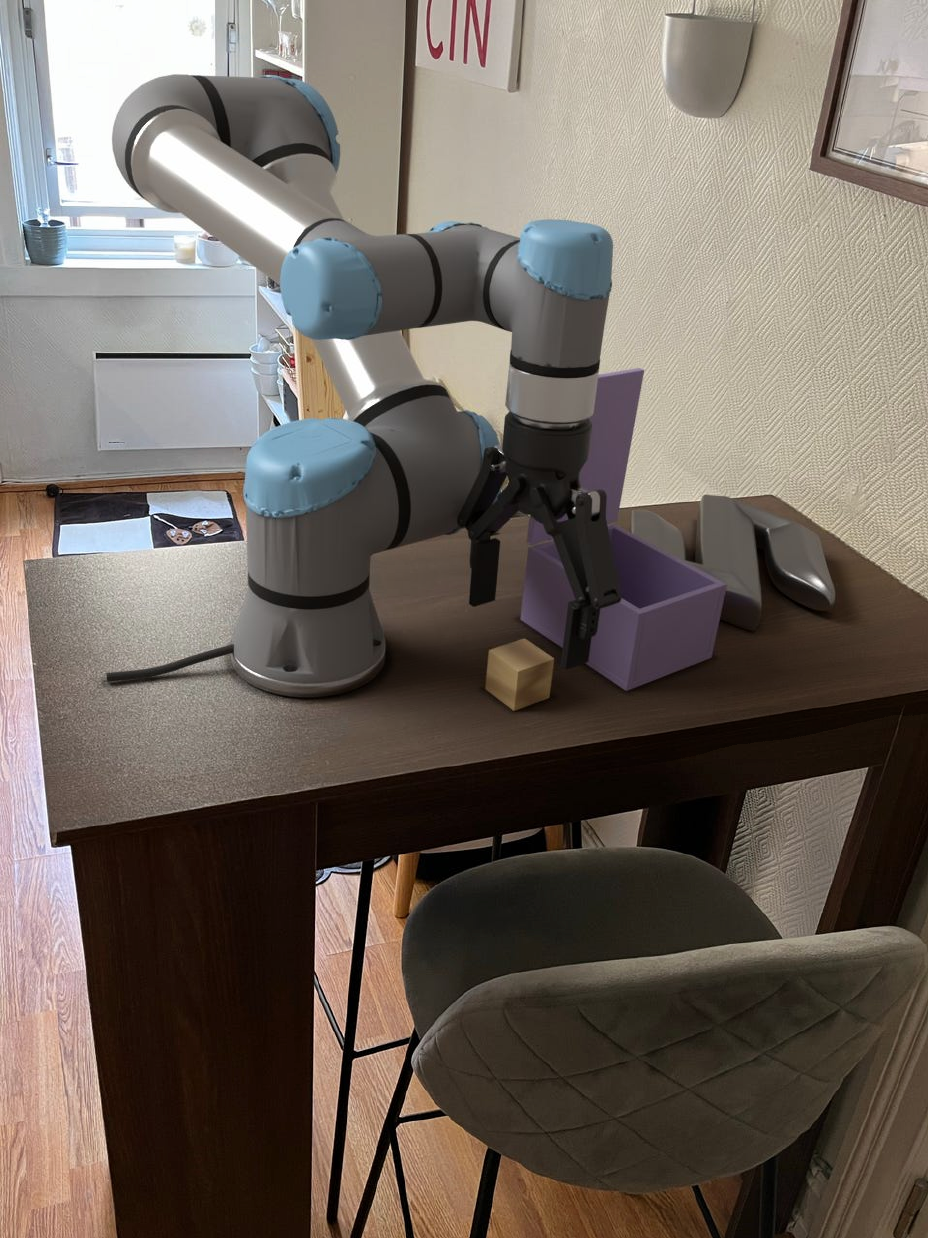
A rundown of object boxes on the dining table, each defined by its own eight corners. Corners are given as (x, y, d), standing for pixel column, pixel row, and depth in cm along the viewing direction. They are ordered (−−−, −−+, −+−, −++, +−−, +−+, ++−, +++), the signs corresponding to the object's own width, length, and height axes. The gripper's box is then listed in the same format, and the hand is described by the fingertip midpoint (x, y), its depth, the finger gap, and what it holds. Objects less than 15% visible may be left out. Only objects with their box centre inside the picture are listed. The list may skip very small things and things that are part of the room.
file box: (711, 657, 117) (727, 584, 113) (626, 691, 110) (639, 613, 106) (603, 593, 128) (614, 523, 124) (520, 619, 121) (528, 547, 117)
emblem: (573, 496, 139) (758, 479, 149) (568, 535, 141) (750, 516, 151) (693, 600, 116) (901, 572, 126) (685, 644, 119) (889, 613, 129)
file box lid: (644, 369, 114) (603, 351, 119) (553, 385, 107) (512, 365, 112) (617, 521, 123) (579, 499, 127) (530, 544, 116) (494, 520, 120)
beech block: (513, 711, 105) (518, 671, 103) (484, 689, 108) (488, 649, 106) (549, 698, 108) (554, 658, 106) (520, 676, 111) (524, 637, 109)
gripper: (687, 454, 88) (648, 681, 98) (492, 370, 105) (477, 571, 115) (619, 470, 84) (586, 705, 94) (428, 380, 101) (417, 587, 111)
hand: (526, 632), depth 104 cm, fingers open, 13 cm apart
